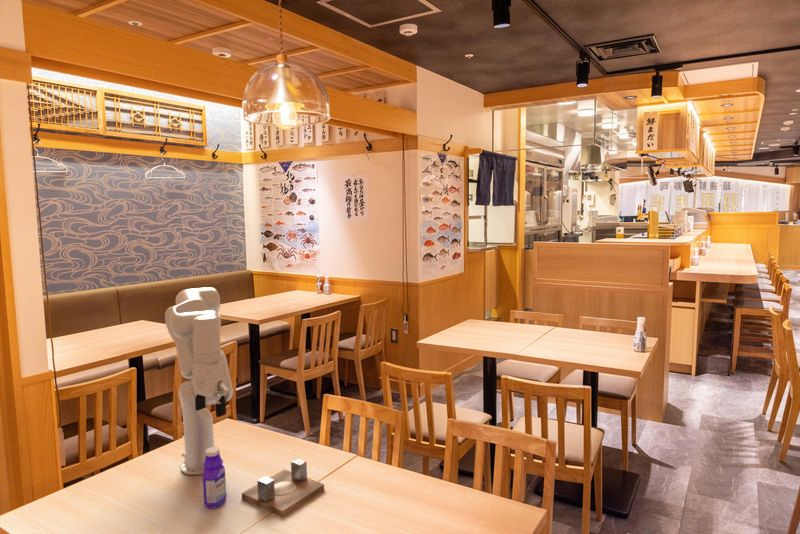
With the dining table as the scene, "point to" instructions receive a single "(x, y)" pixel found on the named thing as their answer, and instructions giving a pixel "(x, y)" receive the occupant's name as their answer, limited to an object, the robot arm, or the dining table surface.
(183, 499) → the dining table surface
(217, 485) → the bottle
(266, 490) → the post pair
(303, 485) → the base board
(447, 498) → the dining table surface
